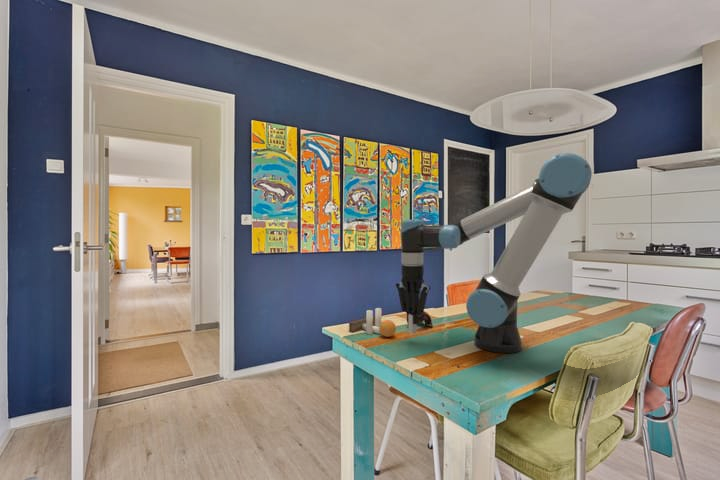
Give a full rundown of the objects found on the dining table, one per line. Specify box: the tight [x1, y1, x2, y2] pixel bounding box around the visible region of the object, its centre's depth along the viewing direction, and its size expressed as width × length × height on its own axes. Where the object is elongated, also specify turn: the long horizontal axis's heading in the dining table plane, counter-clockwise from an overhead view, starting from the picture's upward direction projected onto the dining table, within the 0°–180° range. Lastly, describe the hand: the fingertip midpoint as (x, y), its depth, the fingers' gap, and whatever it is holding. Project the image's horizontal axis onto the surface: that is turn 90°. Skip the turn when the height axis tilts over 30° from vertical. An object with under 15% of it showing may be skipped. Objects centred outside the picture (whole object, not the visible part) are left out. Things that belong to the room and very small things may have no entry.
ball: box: [379, 319, 397, 338], centre depth 132 cm, size 6×6×6 cm
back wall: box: [348, 316, 375, 333], centre depth 141 cm, size 2×13×4 cm, turn 137°
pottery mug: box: [407, 310, 434, 329], centre depth 146 cm, size 12×10×8 cm
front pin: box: [362, 323, 382, 335], centre depth 138 cm, size 2×2×8 cm
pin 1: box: [365, 309, 374, 335], centre depth 135 cm, size 2×2×8 cm
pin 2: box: [374, 307, 383, 327], centre depth 139 cm, size 2×2×8 cm
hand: (412, 332), depth 125 cm, fingers closed
